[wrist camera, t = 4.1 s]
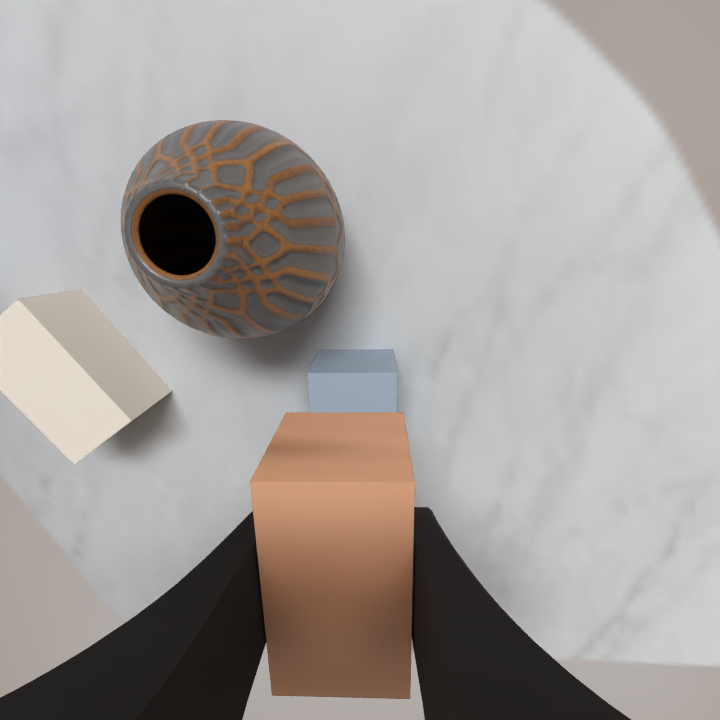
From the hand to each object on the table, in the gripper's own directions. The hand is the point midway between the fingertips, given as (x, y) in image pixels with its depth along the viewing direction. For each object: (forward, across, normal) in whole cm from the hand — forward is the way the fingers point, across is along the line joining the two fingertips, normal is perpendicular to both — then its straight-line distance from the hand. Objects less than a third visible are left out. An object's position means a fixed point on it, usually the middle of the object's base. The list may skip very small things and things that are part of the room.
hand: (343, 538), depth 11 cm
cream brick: (+9, +12, -2) cm, 15 cm away
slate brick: (+9, 0, 0) cm, 9 cm away
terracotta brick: (+2, 0, 0) cm, 2 cm away
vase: (+9, +4, -8) cm, 13 cm away
